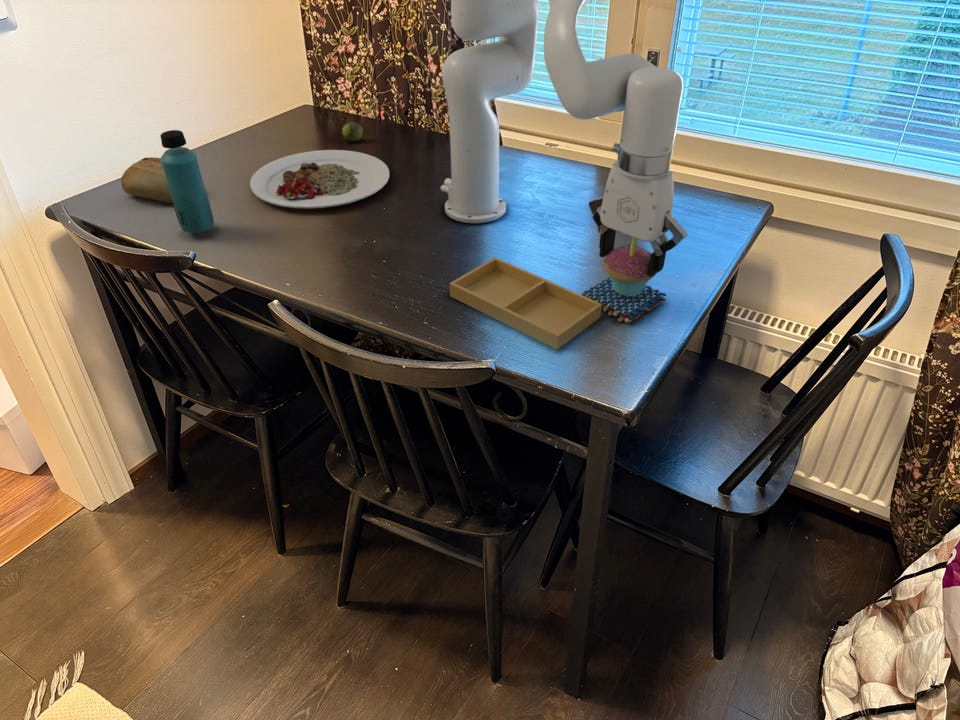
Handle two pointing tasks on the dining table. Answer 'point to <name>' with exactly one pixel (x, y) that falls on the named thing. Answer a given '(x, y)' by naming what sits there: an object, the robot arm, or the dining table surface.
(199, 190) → the beverage bottle
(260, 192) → the plated food
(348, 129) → the lime
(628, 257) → the cupcake
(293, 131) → the dining table surface
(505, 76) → the robot arm
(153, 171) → the bread roll
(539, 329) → the divided tray
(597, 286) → the woven mat
